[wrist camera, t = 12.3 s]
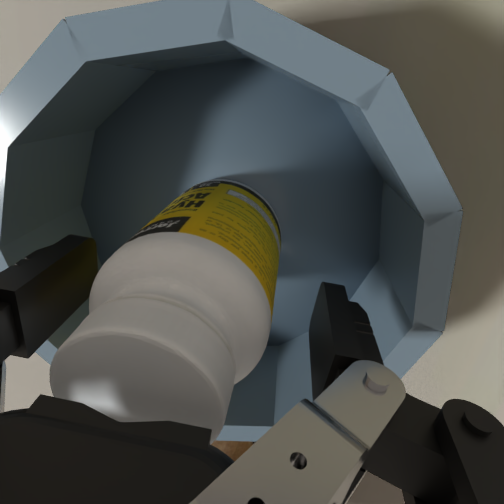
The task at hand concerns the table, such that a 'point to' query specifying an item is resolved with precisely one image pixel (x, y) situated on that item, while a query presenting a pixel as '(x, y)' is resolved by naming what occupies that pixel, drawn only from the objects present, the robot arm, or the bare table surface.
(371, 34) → the table surface
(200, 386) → the supplement bottle
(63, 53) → the slate bowl
